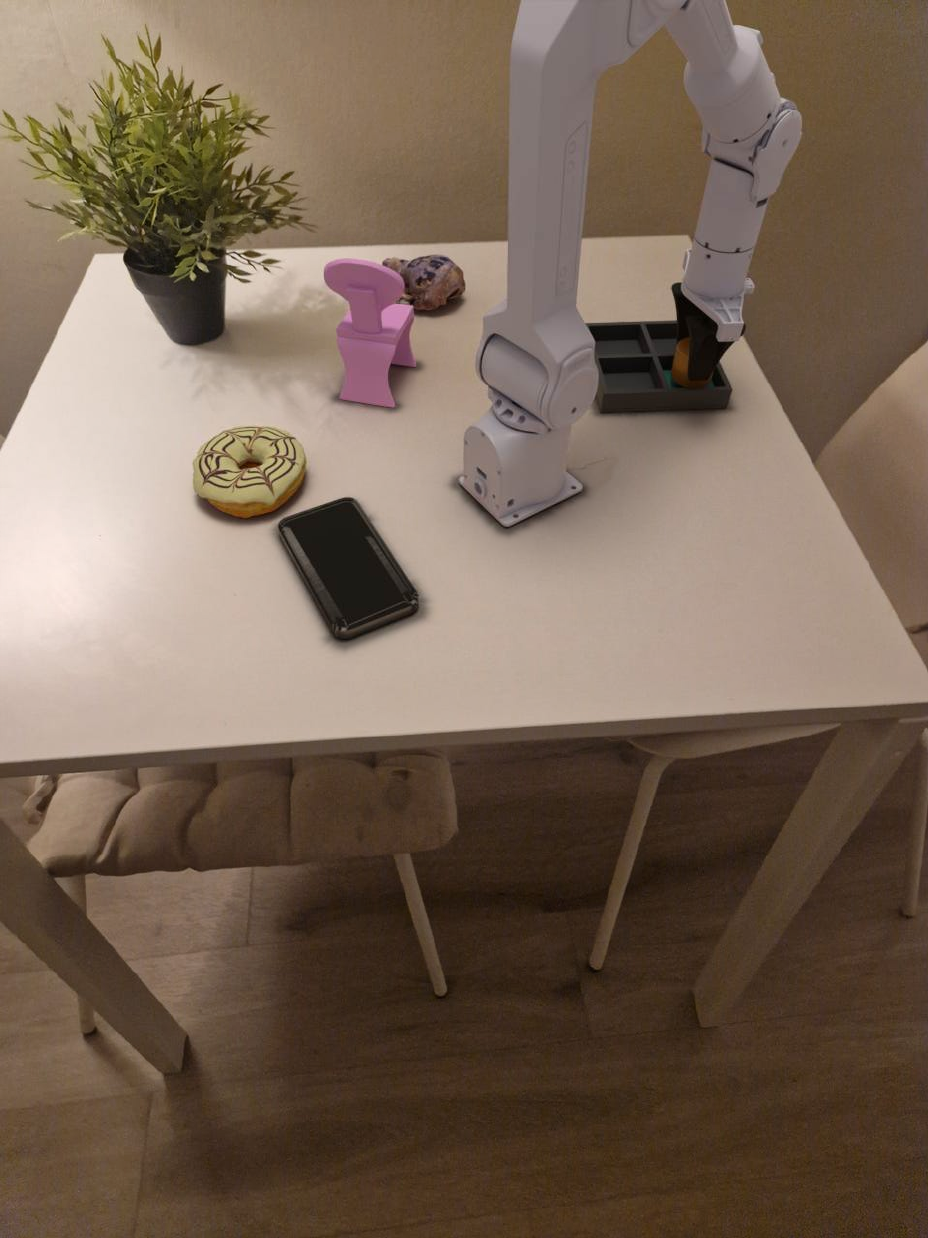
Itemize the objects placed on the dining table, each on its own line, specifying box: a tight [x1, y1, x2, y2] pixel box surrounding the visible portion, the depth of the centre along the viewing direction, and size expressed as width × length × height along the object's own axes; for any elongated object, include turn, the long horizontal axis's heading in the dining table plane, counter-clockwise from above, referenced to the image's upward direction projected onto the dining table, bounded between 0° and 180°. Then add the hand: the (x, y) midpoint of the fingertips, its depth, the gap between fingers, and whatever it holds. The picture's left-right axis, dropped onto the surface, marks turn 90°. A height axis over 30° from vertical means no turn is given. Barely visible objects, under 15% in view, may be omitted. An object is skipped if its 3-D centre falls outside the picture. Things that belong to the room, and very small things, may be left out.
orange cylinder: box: [670, 337, 714, 388], centre depth 85 cm, size 4×4×4 cm
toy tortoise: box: [381, 254, 467, 311], centre depth 98 cm, size 12×8×6 cm, turn 40°
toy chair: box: [323, 257, 417, 409], centre depth 83 cm, size 8×9×15 cm
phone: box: [277, 496, 420, 640], centre depth 70 cm, size 8×1×15 cm
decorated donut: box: [192, 425, 307, 519], centre depth 76 cm, size 10×11×4 cm
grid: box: [585, 319, 734, 414], centre depth 89 cm, size 14×14×2 cm
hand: (692, 365), depth 85 cm, fingers closed on orange cylinder, 4 cm apart
